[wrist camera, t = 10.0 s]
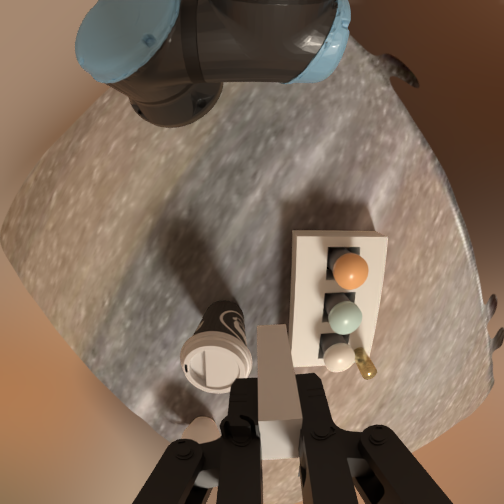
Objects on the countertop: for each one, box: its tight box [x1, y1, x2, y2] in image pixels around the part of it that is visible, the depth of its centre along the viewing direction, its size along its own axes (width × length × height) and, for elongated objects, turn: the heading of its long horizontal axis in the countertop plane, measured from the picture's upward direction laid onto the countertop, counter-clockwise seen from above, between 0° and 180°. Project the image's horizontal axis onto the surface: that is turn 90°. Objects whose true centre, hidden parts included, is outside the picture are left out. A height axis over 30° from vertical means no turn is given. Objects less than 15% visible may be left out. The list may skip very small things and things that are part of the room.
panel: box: [288, 230, 388, 367], centre depth 45 cm, size 22×14×5 cm, turn 0°
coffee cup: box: [180, 301, 252, 393], centre depth 41 cm, size 10×10×15 cm
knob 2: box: [324, 292, 362, 335], centre depth 43 cm, size 5×5×9 cm
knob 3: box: [320, 333, 355, 372], centre depth 44 cm, size 5×5×9 cm
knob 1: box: [327, 247, 369, 290], centre depth 41 cm, size 5×5×9 cm
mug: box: [181, 417, 221, 444], centre depth 50 cm, size 12×9×12 cm
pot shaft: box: [354, 347, 377, 380], centre depth 42 cm, size 2×2×6 cm
